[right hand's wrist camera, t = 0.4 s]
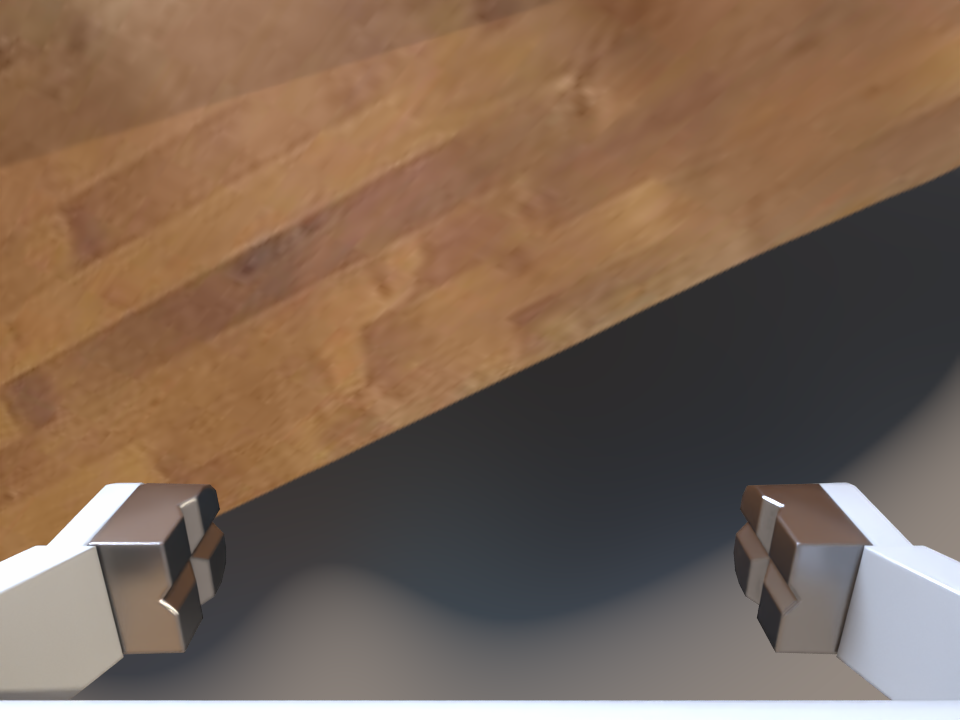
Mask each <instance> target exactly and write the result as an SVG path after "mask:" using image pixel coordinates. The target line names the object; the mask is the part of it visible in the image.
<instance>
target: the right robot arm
mask: <svg viewBox="0 0 960 720" xmlns="http://www.w3.org/2000/svg"><path fill="white" fill-rule="evenodd" d="M219 510H220V508H219V503H218V498H217V493H216V490H215V489H214V488H213V487H212V486H211V485H210V484H159V483H146V484H144V483H114V484H109V485H106V486H105V487H104V488H103V489H102V490H101V491H100V492H99V493H98V494H97V495H96V496H95V497H94V498H93V499H92V500H91V501H90V502H89V503H88V504H87V505H86V506H85V507H84V508H83V509H82V510H81V511H80V512H79V513H78V514H77V515H76V516H75V517H74V518H73V519H72V521H71V522H70V523H69V524H68V525H67V526H66V527H65V528H64V529H63V530H62V531H61V532H60V533H59V534H58V535H57V536H56V537H55V538H54V539H53V540H52V541H51V542H50V543H49V544H48V545H47V546H34V547H32V548H30V549H28V550H26V551H23V552H21V553H19V554H17V555H15V556H12V557H10V558H8V559H6V560H4V561H1V562H0V720H960V562H958V561H956V560H954V559H952V558H950V557H947V556H945V555H943V554H941V553H939V552H936V551H934V550H932V549H930V548H928V547H926V546H913V545H912V544H911V543H910V542H909V541H908V540H907V539H906V538H905V537H904V536H903V535H902V534H901V533H900V532H899V531H898V530H897V529H896V528H895V527H894V526H893V525H892V524H891V522H890V521H889V520H888V519H887V518H886V517H885V516H884V515H883V514H882V513H881V512H880V511H879V510H878V509H877V508H876V507H875V506H874V505H873V504H872V503H871V502H870V501H869V500H868V499H867V498H866V497H865V496H864V495H863V494H862V493H861V492H860V491H859V490H858V489H857V487H856V486H854V485H851V484H849V483H821V484H790V485H752V486H747V487H746V489H745V492H744V494H743V497H742V502H741V508H740V510H741V511H742V513H743V515H744V516H745V518H746V519H747V521H748V522H747V523H746V524H745V525H744V526H743V527H742V528H741V530H739V531H738V533H737V534H736V539H735V546H734V562H735V571H736V575H737V578H738V582H739V584H740V586H741V588H742V590H743V592H744V594H745V596H746V597H748V598H749V599H751V600H752V601H754V602H755V603H757V604H758V605H759V609H758V615H757V619H758V621H759V623H760V624H761V626H762V628H763V630H764V632H765V634H766V636H767V637H768V639H769V641H770V643H771V645H772V647H773V649H774V650H775V652H777V653H813V654H837V658H838V659H840V660H841V661H842V662H844V663H845V664H846V665H847V666H849V667H850V668H851V669H852V670H854V671H855V672H856V673H857V674H859V675H860V676H861V677H862V678H864V679H865V680H866V681H867V682H869V683H870V684H871V685H872V686H874V687H875V688H876V689H877V690H879V691H880V692H881V693H883V694H884V695H885V696H886V697H887V698H889V699H890V700H866V701H865V700H862V701H861V700H860V701H859V700H854V701H853V700H851V701H850V700H842V701H841V700H832V701H830V700H829V701H828V700H823V701H821V700H814V701H813V700H812V701H808V700H804V701H802V700H800V701H798V700H797V701H793V700H790V701H789V700H787V701H231V700H230V701H229V700H228V701H223V700H220V701H218V700H216V701H215V700H214V701H213V700H212V701H211V700H210V701H204V700H203V701H200V700H197V701H196V700H195V701H194V700H193V701H192V700H188V701H187V700H181V701H180V700H177V701H175V700H172V701H168V700H164V701H161V700H154V701H153V700H150V701H149V700H148V701H146V700H141V701H140V700H133V701H132V700H124V701H123V700H118V701H117V700H111V701H110V700H104V701H103V700H100V701H99V700H93V701H91V700H84V701H83V700H70V699H71V698H73V697H74V696H75V695H77V694H78V693H79V692H80V691H82V690H83V689H84V688H85V687H87V686H88V685H89V684H90V683H92V682H93V681H94V680H95V679H97V678H98V677H99V676H100V675H102V674H103V673H104V672H105V671H107V670H108V669H109V668H110V667H112V666H113V665H114V664H115V663H117V662H118V661H119V660H121V659H122V658H123V654H147V653H181V652H185V650H186V649H187V647H188V645H189V643H190V641H191V639H192V637H193V636H194V634H195V632H196V630H197V628H198V626H199V624H200V623H201V621H202V619H203V615H202V609H201V605H202V604H203V603H205V602H206V601H208V600H209V599H211V598H212V597H214V596H215V594H216V592H217V590H218V588H219V586H220V584H221V582H222V578H223V573H224V569H225V565H226V544H225V538H224V534H223V533H222V532H221V530H220V529H219V528H218V527H217V526H216V525H215V524H214V523H213V522H212V521H213V519H214V518H215V516H216V515H217V513H218V511H219Z"/></svg>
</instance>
